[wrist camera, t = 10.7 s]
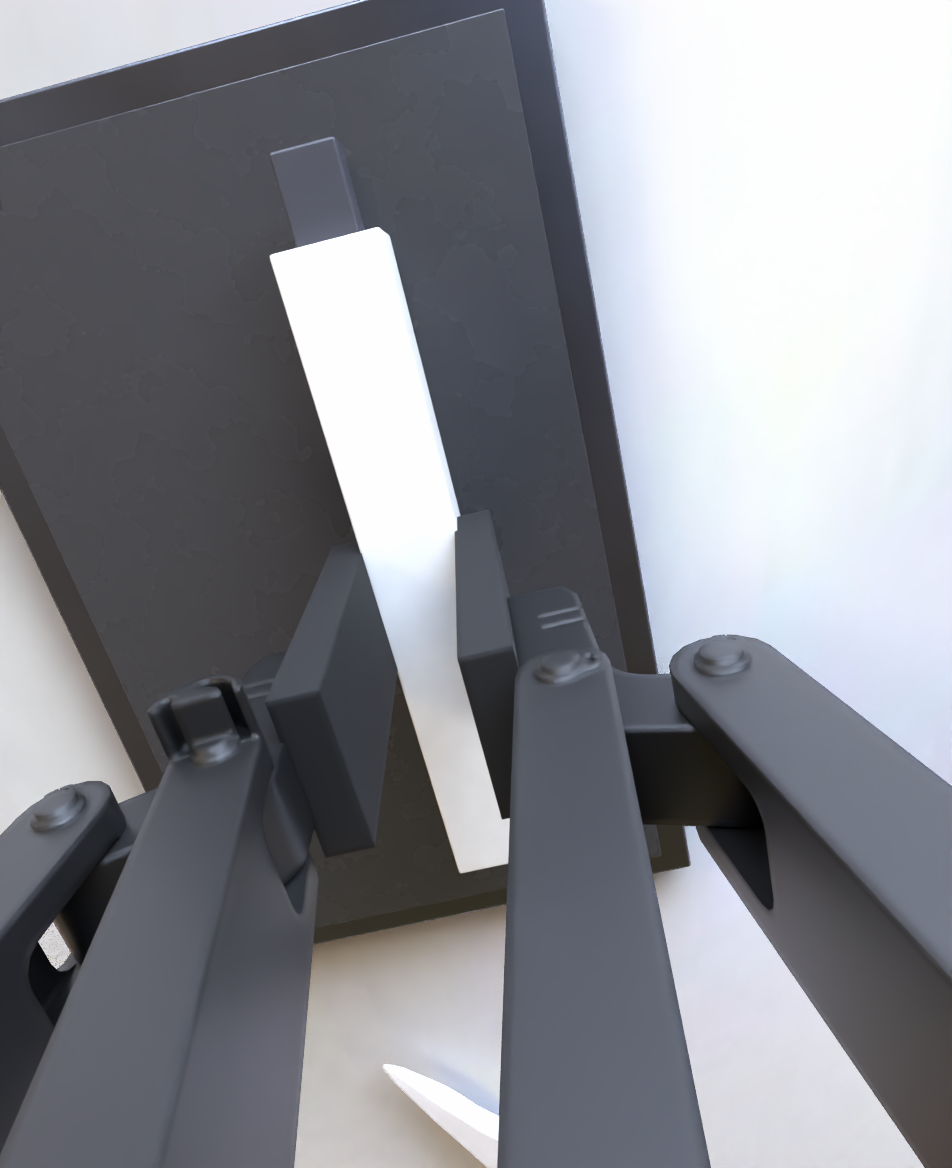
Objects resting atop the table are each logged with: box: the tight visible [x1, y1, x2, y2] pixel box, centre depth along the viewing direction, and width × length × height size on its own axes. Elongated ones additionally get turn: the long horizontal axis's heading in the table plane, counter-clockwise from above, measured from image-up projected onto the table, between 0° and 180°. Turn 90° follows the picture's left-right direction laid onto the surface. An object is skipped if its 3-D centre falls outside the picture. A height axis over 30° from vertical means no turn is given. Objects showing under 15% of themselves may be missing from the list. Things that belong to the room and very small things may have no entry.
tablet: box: [0, 0, 690, 944], centre depth 19 cm, size 14×22×1 cm, turn 13°
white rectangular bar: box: [270, 137, 510, 873], centre depth 17 cm, size 2×16×2 cm, turn 13°
